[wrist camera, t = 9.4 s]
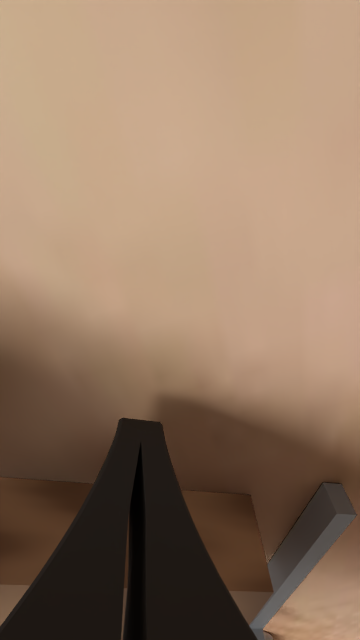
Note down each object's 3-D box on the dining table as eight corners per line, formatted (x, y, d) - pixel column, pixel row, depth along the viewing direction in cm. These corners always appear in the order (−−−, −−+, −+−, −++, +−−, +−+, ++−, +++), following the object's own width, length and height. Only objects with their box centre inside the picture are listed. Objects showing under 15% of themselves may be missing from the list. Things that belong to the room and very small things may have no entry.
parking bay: (-68, 598, 21) (-101, 666, 18) (-131, 445, 13) (-202, 522, 11) (252, 606, 23) (263, 666, 21) (341, 483, 16) (375, 551, 14)
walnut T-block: (12, 587, 20) (-19, 681, 17) (-4, 476, 15) (-54, 583, 11) (201, 592, 22) (209, 679, 18) (250, 494, 16) (273, 592, 13)
